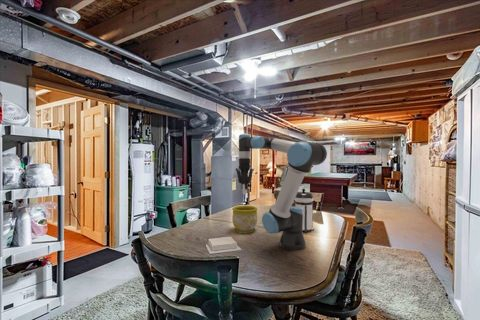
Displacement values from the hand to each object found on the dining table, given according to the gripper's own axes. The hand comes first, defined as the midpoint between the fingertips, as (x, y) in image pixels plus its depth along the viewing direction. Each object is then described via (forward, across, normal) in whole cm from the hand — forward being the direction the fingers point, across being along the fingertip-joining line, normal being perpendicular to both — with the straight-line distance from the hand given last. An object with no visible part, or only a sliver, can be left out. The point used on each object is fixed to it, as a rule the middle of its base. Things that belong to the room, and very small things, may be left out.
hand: (244, 193), depth 162 cm
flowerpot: (+29, +7, -12) cm, 32 cm away
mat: (+28, +1, +23) cm, 37 cm away
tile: (+26, +7, +18) cm, 33 cm away
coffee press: (+29, -27, -35) cm, 53 cm away
